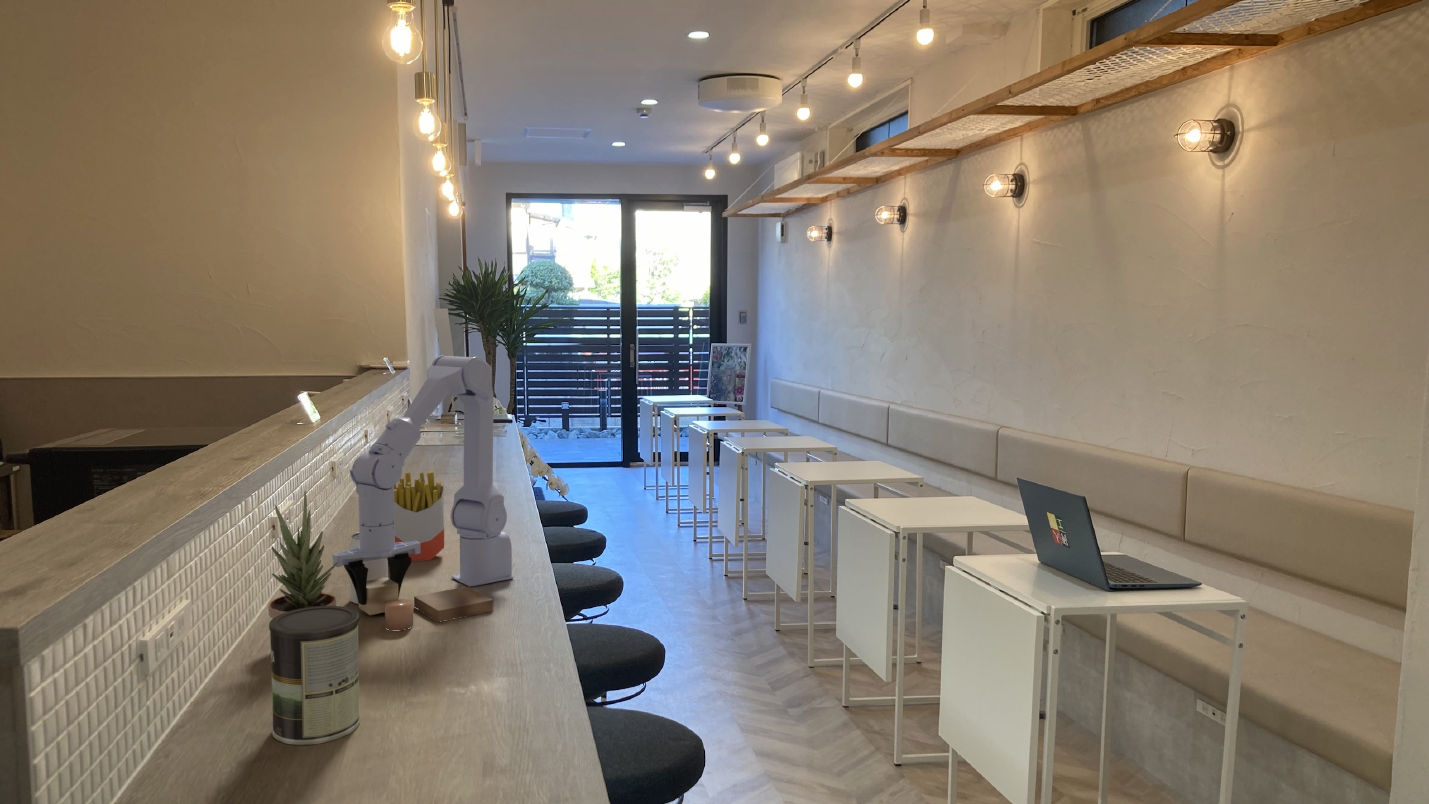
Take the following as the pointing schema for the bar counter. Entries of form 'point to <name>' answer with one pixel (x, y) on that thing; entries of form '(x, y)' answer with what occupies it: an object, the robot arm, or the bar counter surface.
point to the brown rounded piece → (399, 614)
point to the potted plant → (300, 570)
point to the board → (453, 603)
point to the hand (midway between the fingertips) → (378, 600)
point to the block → (379, 595)
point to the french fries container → (420, 515)
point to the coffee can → (314, 674)
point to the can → (375, 567)
